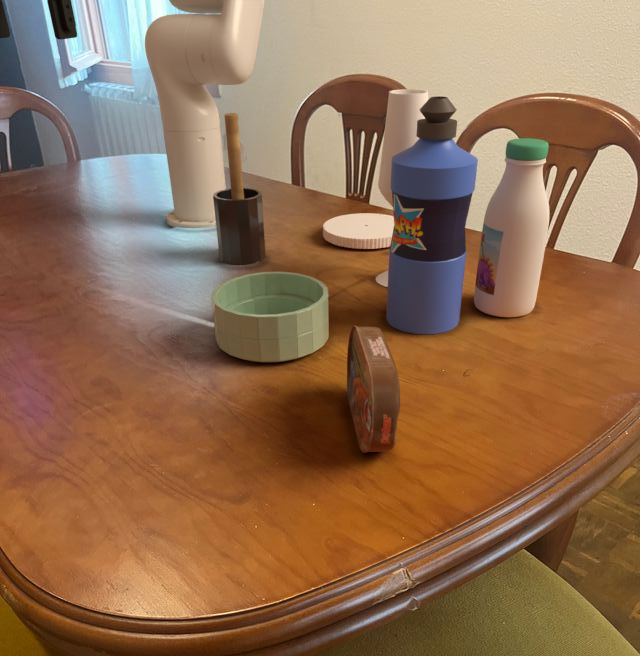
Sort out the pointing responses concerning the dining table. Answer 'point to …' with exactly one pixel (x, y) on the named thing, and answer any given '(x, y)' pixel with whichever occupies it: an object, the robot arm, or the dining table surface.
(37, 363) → the dining table surface
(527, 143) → the milk bottle
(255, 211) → the holder
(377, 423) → the tin
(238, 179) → the stick
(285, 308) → the bowl
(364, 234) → the plastic lid
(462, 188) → the water bottle
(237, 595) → the dining table surface
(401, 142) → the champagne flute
